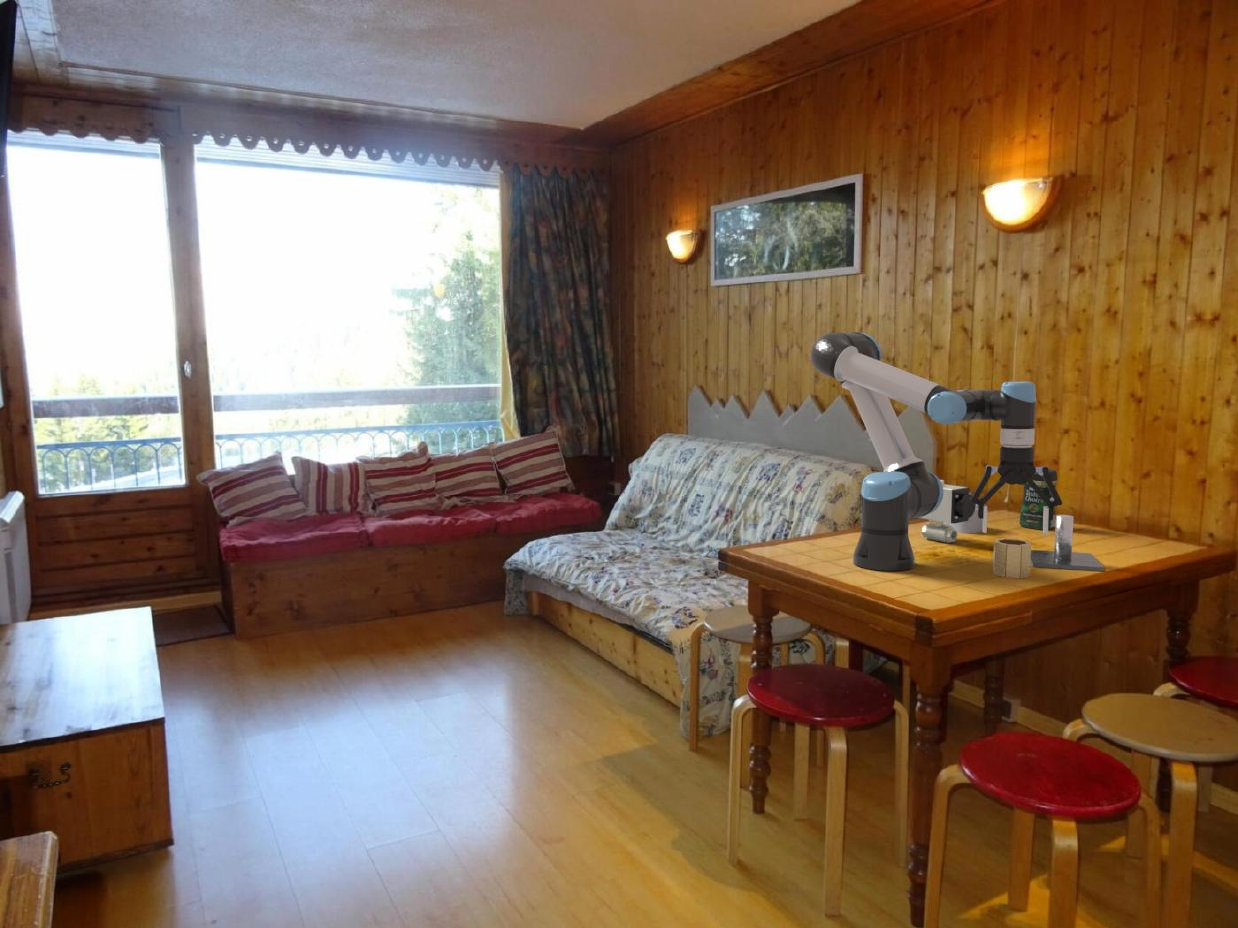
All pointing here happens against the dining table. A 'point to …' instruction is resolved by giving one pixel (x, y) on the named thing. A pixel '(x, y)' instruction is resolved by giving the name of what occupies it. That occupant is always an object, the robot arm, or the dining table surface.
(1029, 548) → the ring
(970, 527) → the grey paw print block
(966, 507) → the ball valve
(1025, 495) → the coffee jar
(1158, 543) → the dining table surface
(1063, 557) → the pipe stub
